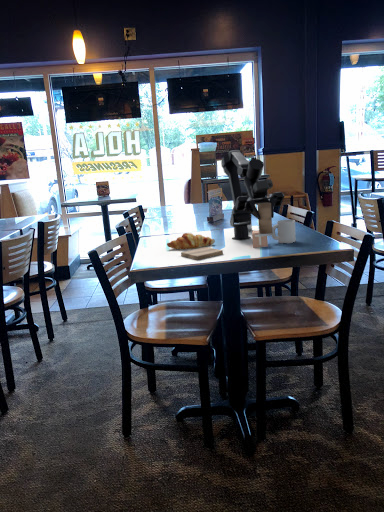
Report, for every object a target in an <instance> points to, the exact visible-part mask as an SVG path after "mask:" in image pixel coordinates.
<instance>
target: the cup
mask: <svg viewBox="0 0 384 512" xmlns="http://www.w3.org/2000/svg"><path fill="white" fill-rule="evenodd" d="M276 229H277V235H276ZM272 232H273V235H271V237H272V239H273V240H275V241H277V242H278V244H283V243H287V244H293V242H294V243H295V242H296V236H297V235H296V220H295V219H281V220H277V221H276V224H274V225H272Z"/></svg>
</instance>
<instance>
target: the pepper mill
mask: <svg viewBox="0 0 384 512" xmlns="http://www.w3.org/2000/svg"><path fill="white" fill-rule="evenodd" d="M257 210H258V213H259V215H260V220H259V219H257V220H258V230H259V236H267V237H270V236H272V235H273V232H272V227H273V223H272V222H273V218H272V215H271V203H259V204H257Z"/></svg>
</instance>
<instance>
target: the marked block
mask: <svg viewBox="0 0 384 512" xmlns="http://www.w3.org/2000/svg"><path fill="white" fill-rule="evenodd" d="M251 233H252V234H251V235H252V236H251V238H252V248H264V247H265V248H266V247H269V244H268V242H269V241H268V236H259V229H258V230H251Z"/></svg>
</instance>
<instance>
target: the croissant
mask: <svg viewBox="0 0 384 512" xmlns="http://www.w3.org/2000/svg"><path fill="white" fill-rule="evenodd" d="M215 242H216V240H215V239H213V238H211V237H209V236H203V235H202V234H195V235H194V234H193V233H191V232H186V233H183V234H182V235H181V236H179V237H177V238H176V239H175V240H171V241H170V242H167V243H166V245H167V247H168V248H171V249H175V250H179V251H180V250H194V249H198V248H203V247H207V246H211V245H214V244H215Z"/></svg>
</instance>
